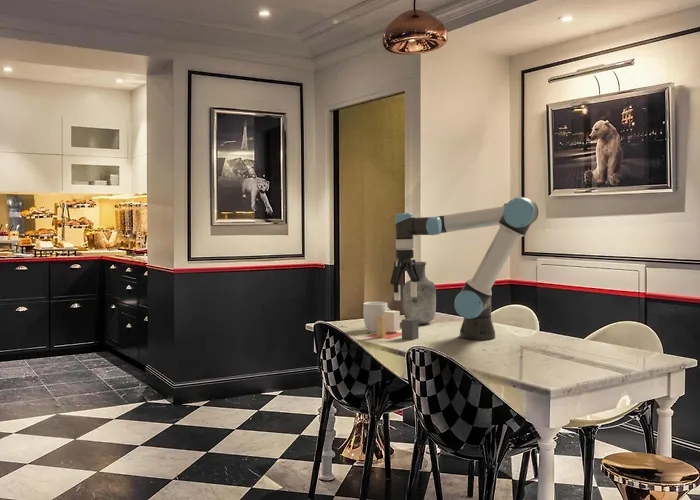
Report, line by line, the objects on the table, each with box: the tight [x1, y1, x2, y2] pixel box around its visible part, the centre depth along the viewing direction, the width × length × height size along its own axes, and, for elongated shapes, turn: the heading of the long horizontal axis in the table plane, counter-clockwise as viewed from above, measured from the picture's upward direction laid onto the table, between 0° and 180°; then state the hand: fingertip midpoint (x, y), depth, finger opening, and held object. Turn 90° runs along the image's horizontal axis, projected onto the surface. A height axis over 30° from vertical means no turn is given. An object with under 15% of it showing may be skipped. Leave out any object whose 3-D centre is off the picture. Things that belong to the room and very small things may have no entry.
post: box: [376, 316, 386, 339], centre depth 295 cm, size 3×3×9 cm
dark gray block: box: [401, 318, 420, 341], centre depth 291 cm, size 5×5×9 cm
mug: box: [362, 301, 391, 333], centre depth 313 cm, size 15×11×13 cm
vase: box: [402, 261, 437, 325], centre depth 332 cm, size 16×16×30 cm
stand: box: [365, 309, 402, 340], centre depth 300 cm, size 12×17×10 cm
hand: (405, 298), depth 293 cm, fingers open, 13 cm apart
